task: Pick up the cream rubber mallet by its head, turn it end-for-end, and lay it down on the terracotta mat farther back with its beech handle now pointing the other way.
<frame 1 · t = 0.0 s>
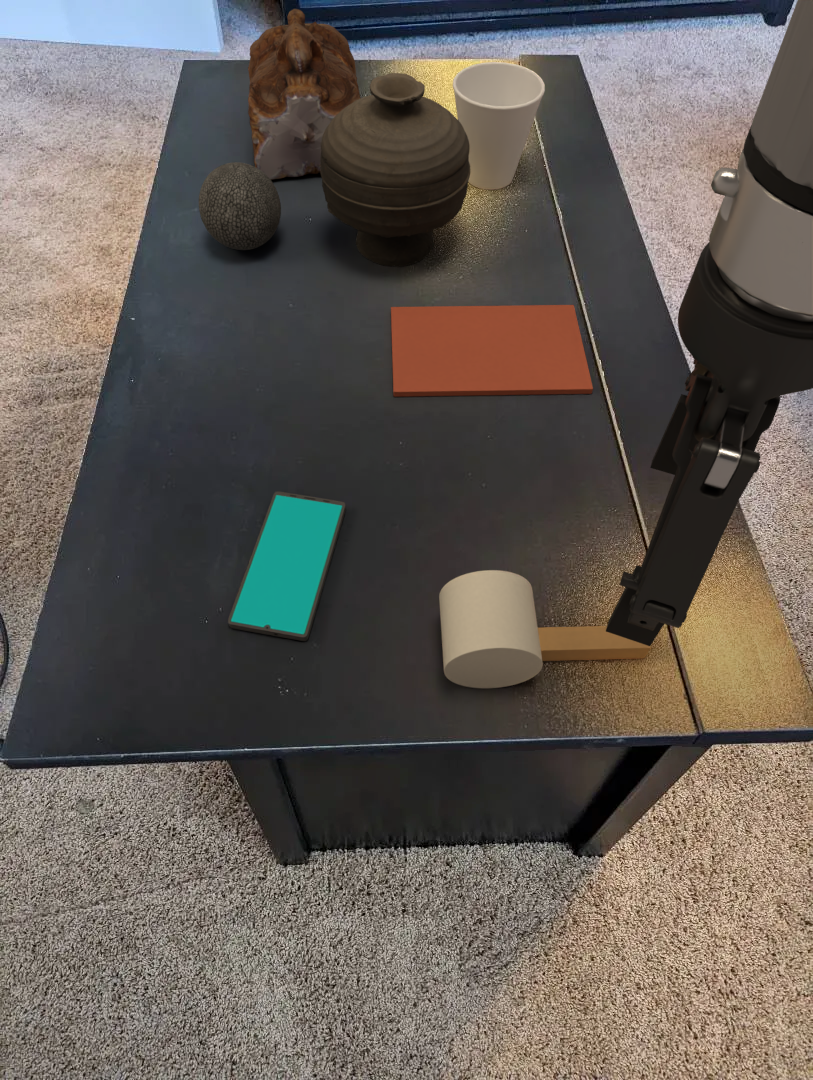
hand: (651, 546, 49), 20 cm above the table, tool pointing down, fingers open, 13 cm apart
smartphone: (290, 565, 72), on the table
mat: (487, 351, 88), on the table
cup: (488, 177, 108), on the table
mallet: (642, 647, 67), on the table
sculpture: (309, 146, 112), on the table
decorative ball: (247, 243, 99), on the table
pot: (395, 242, 99), on the table
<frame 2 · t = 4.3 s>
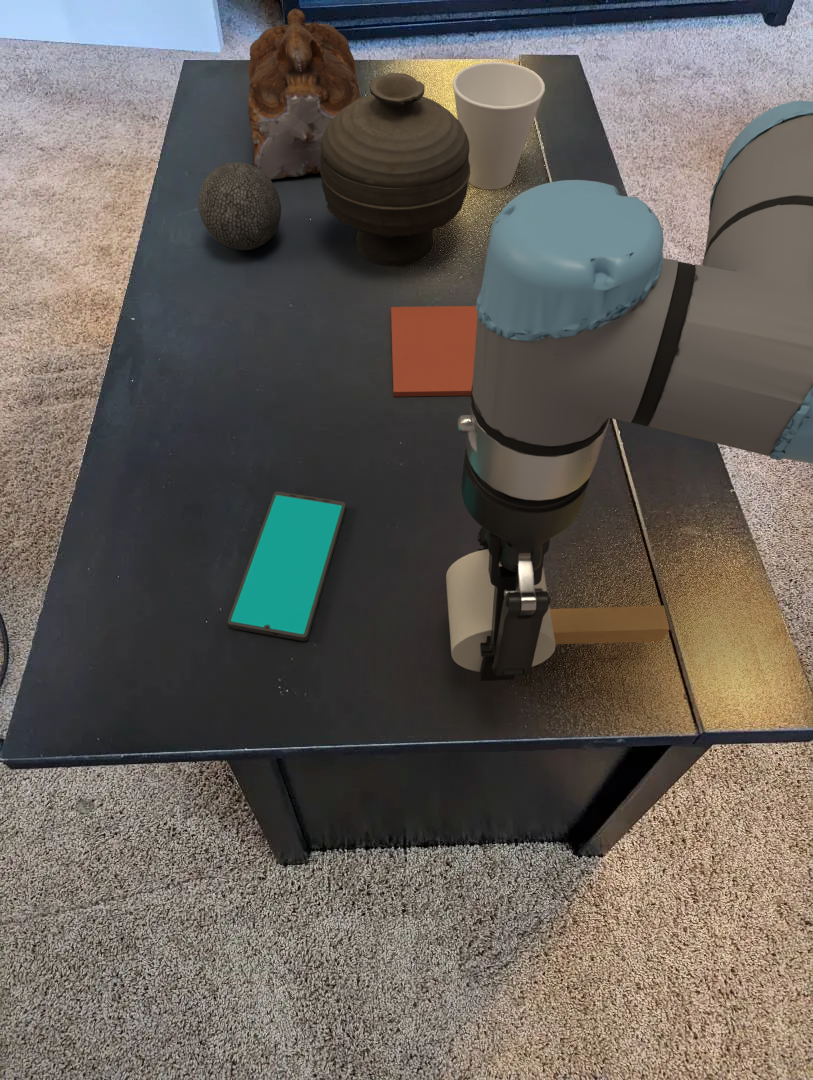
hand: (492, 632, 64), 4 cm above the table, tool pointing down, fingers closed on mallet, 7 cm apart
mallet: (659, 629, 64), point 4 cm above the table, touching gripper
everything else where it was.
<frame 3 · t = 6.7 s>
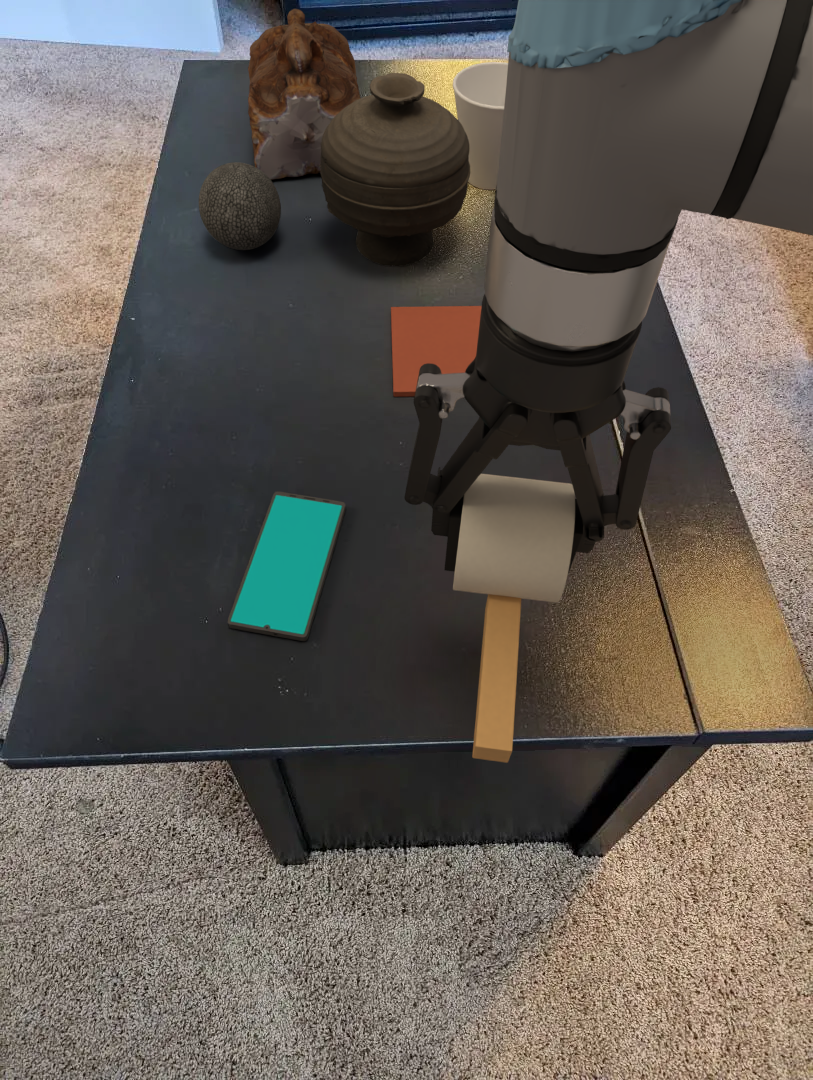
hand: (505, 561, 54), 15 cm above the table, tool pointing down, fingers closed on mallet, 7 cm apart
mallet: (490, 760, 47), point 15 cm above the table, touching gripper
everything else where it was.
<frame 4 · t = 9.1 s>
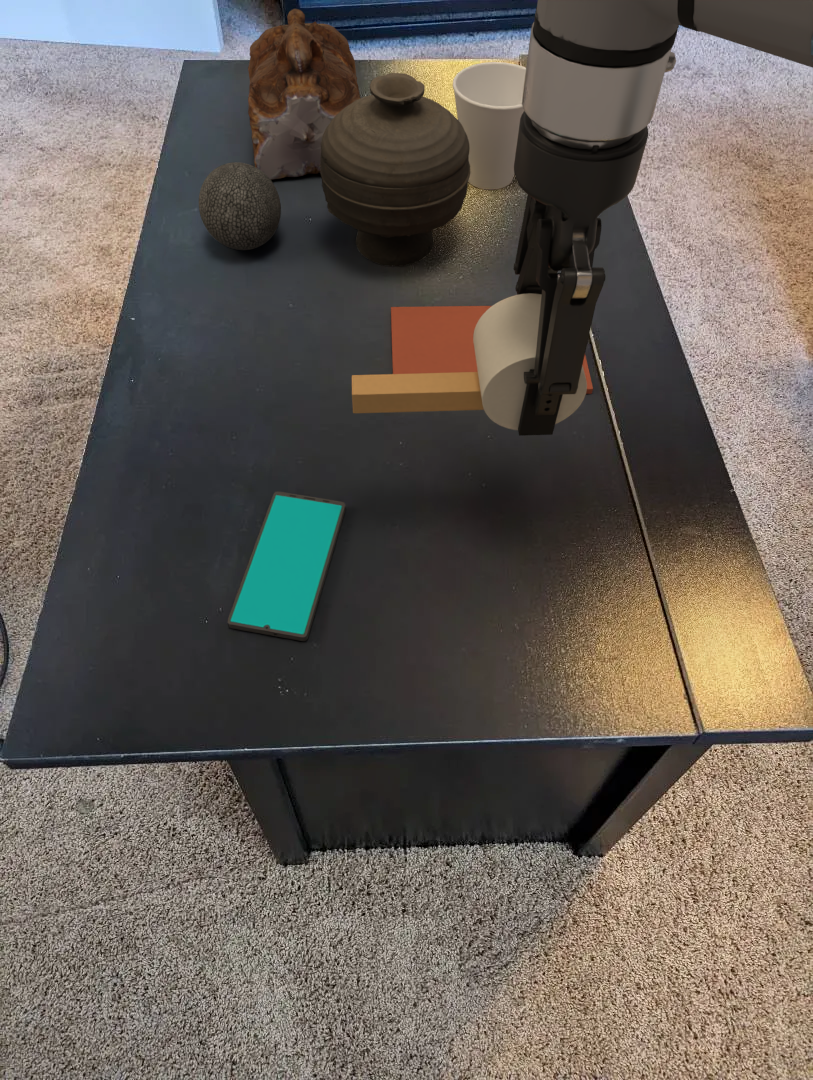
hand: (528, 396, 63), 15 cm above the table, tool pointing down, fingers closed on mallet, 7 cm apart
mallet: (352, 403, 63), point 15 cm above the table, touching gripper
everything else where it was.
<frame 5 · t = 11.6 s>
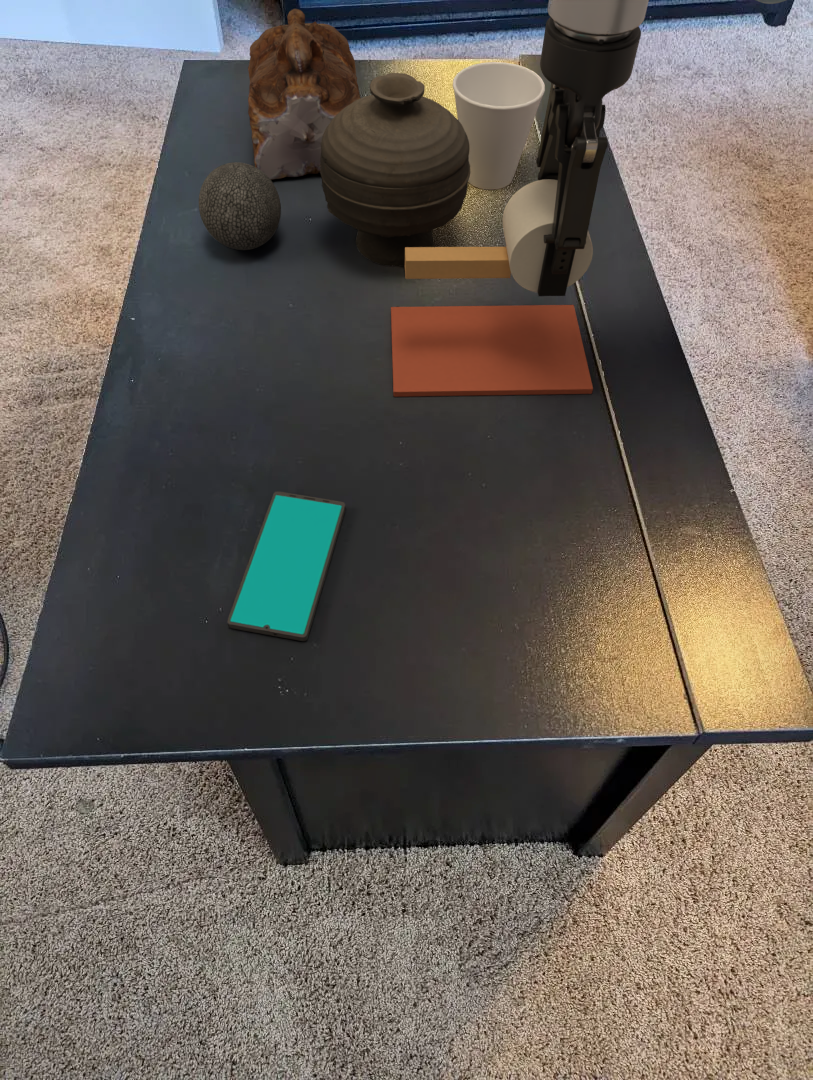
hand: (546, 268, 79), 11 cm above the table, tool pointing down, fingers closed on mallet, 7 cm apart
mallet: (405, 272, 78), point 11 cm above the table, touching gripper
everything else where it was.
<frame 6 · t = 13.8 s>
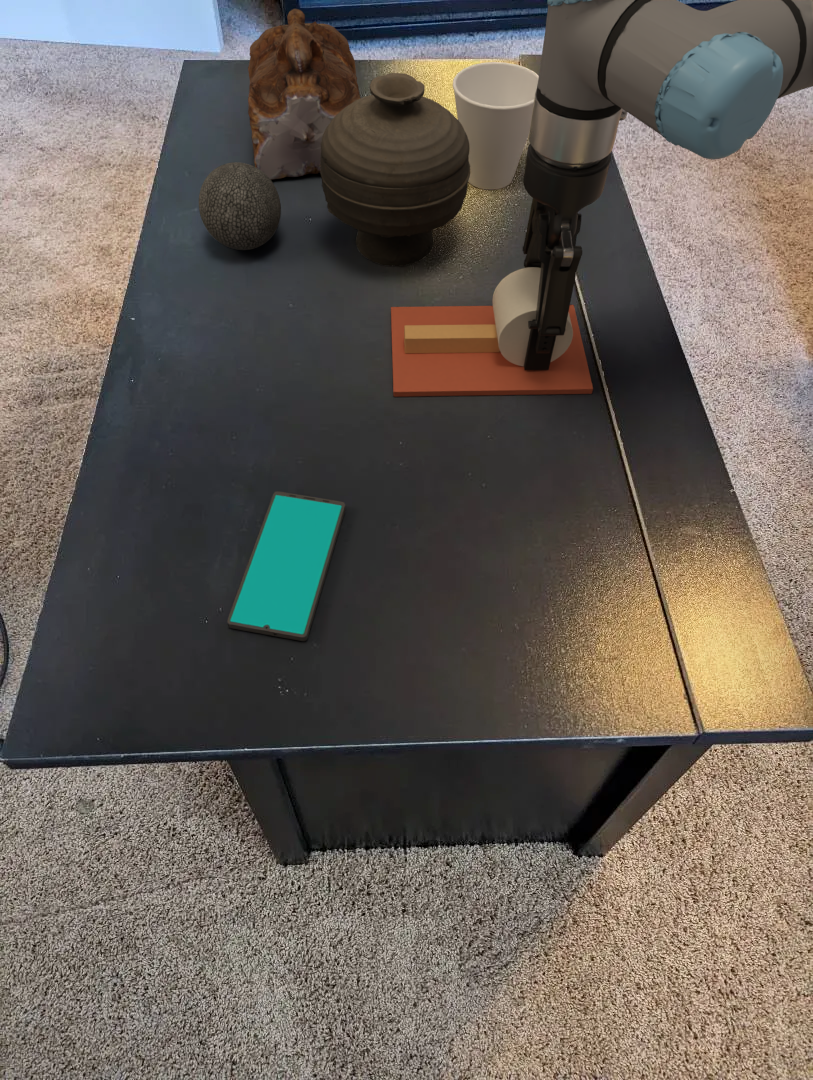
hand: (531, 343, 87), 1 cm above the table, tool pointing down, fingers closed on mallet, 7 cm apart
mallet: (404, 346, 87), point 1 cm above the table, touching gripper, mat
everything else where it was.
when the fingers open (1 cm above the table, at t = 14.1 s): mallet stays where it is, resting on mat.
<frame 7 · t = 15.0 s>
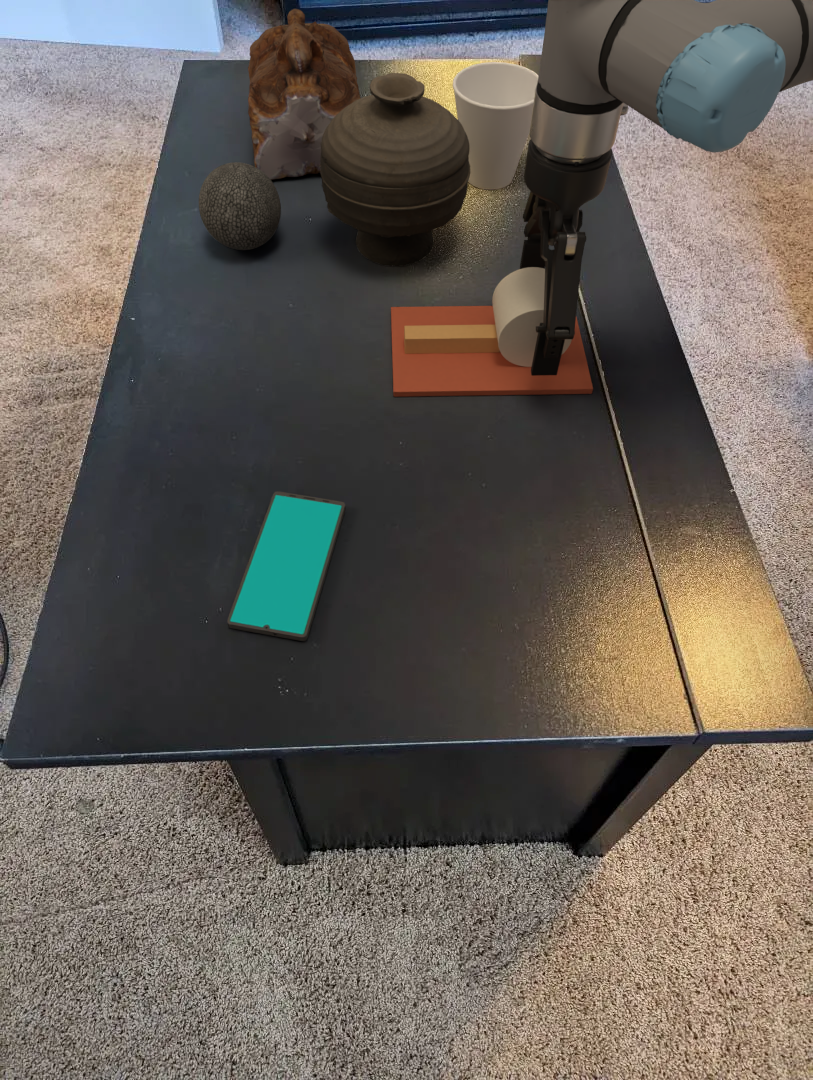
hand: (535, 330, 85), 3 cm above the table, tool pointing down, fingers open, 13 cm apart
mallet: (404, 347, 87), point 1 cm above the table, touching mat
everything else where it was.
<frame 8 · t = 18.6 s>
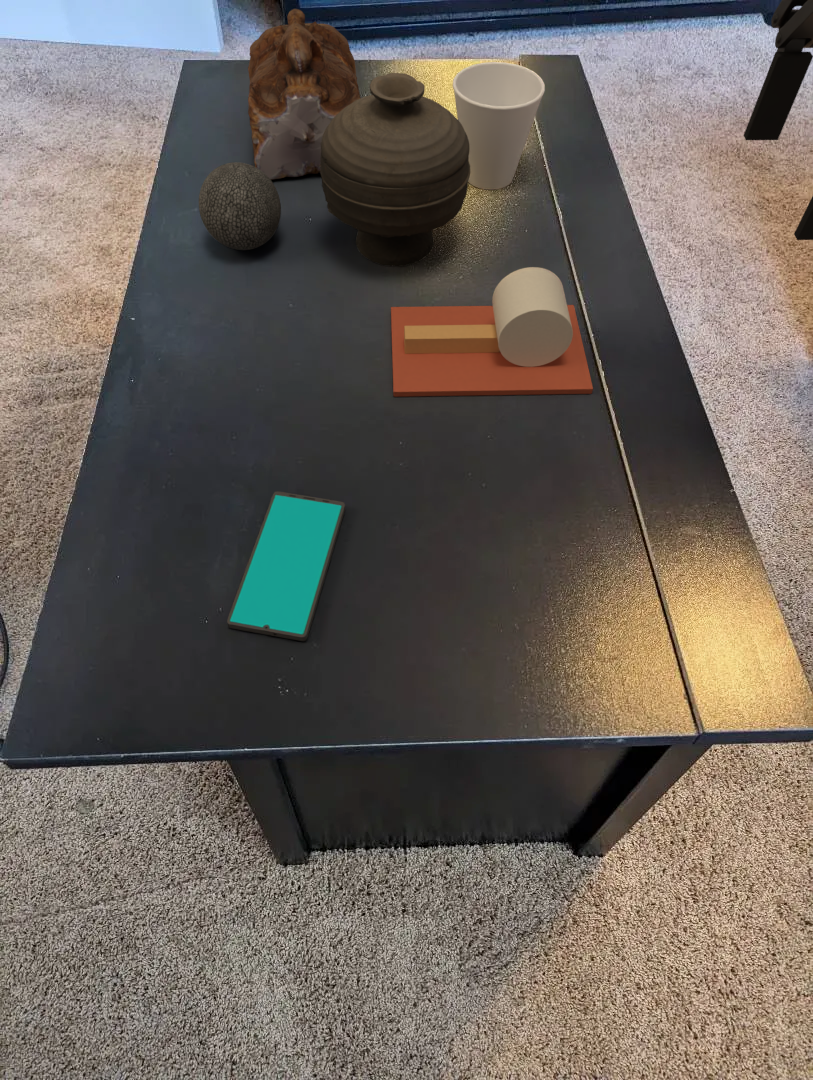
hand: (785, 184, 60), 27 cm above the table, tool pointing down, fingers open, 13 cm apart
nothing on the table moved.
at the end: mallet inside the target area on the mat (0.8 cm from its centre), point 0.8 cm above the mat's base; mallet tilted 0°; the gripper is holding nothing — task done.
